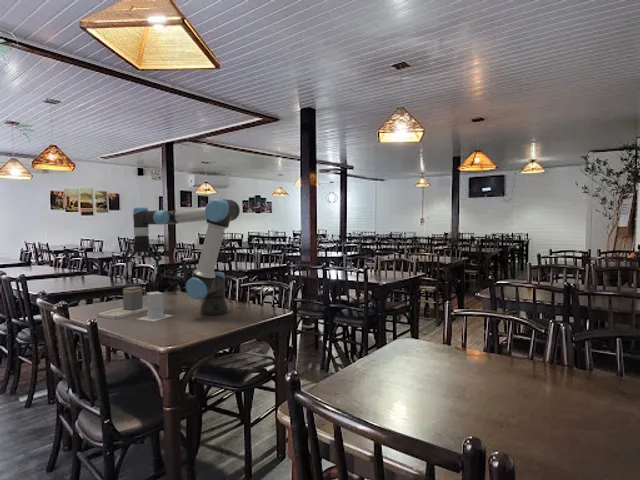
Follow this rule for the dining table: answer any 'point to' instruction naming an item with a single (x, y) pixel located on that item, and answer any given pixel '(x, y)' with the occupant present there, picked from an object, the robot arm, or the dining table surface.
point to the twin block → (132, 298)
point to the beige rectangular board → (120, 313)
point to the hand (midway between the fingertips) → (142, 273)
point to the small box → (155, 305)
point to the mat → (154, 319)
